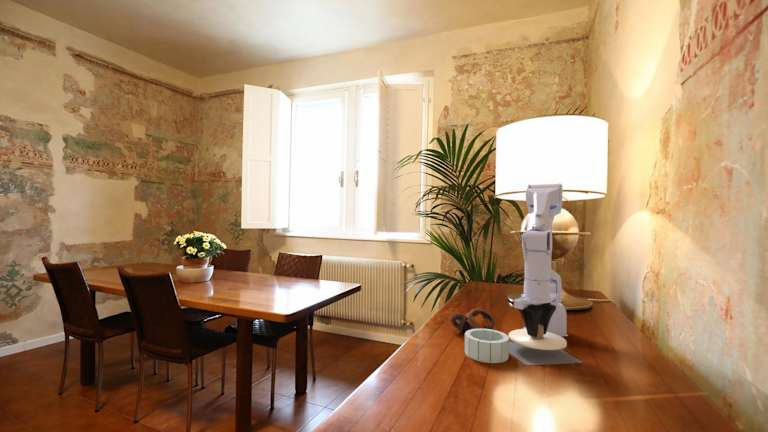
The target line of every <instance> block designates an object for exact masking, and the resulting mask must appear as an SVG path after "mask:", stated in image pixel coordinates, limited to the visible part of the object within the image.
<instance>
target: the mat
mask: <svg viewBox="0 0 768 432" xmlns="http://www.w3.org/2000/svg"><path fill="white" fill-rule="evenodd" d="M509 354H510V355H512V356H513V357H514V358H516V360H518V361H519V362H521V363H522V364H523V365H524V366H540V365H541V366H543V365H565V364H583V363H584V362H583V361H581V360H580V359H578V358H576V357H575V356H573V355H571V354H570V353H568V352H566V351H564V350H563V349H559V350H540V349H533V348H529V347H525V346H522V345H519V344H516V343H514V342H513V341H509Z"/></svg>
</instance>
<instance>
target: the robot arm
mask: <svg viewBox="0 0 768 432" xmlns="http://www.w3.org/2000/svg"><path fill="white" fill-rule="evenodd" d="M525 202H526V205H527V206H526V207H527V210H528V213H529V215H528V220H527V225H526V231H525V232H523V234H522V238H521V245H522V246H521V247H522V253H523V255H522V256H523V260H524V282H523V293H522V294H520V297H519V298H516V299H514V300H513V301H514V303H513V305H514V306H513V308H515V309H517V310H518V311H519V313H520V315H521V318H522V319H523V322H524V325H525V327H522V329H527V333H528V335H530V336H533V337H537V334H538V324H541V325H543V326H544V335H545V334H546V332H550V333H553V334H556V335H559V336H561V337H568V336H569V334H567V329H568V328H567V326H568V325H567V319H568V318H567V310H566V308H565V306H564V305H563V304H562V303H561V302H562V295H563V293H562V292H563V291H562V289H563V287H562V286H563V285H562V277H561V275H560V274H559V273H558V272H556V271H555V270H553V268H552V251H553V222H554V219H555V216H557V215H559V214H561V213H562V210H563V184H561V183H560V182H559V183H550V184H549V183H548V184H547V183H546V184H545V183H544V184H528V185H527V186H526V188H525Z"/></svg>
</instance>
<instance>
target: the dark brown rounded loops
mask: <svg viewBox="0 0 768 432" xmlns="http://www.w3.org/2000/svg"><path fill="white" fill-rule="evenodd" d="M479 315H481V316H482V319H485V320H489V322H490V324H489V325H485V324H484V325H483V329H491V330H495V321H496V320H495V319H494V318H493V316H492V315H491V314H490V313H489V312H487V311H485V310H483V309H479V308H473V309H471V310H470V311H469V312H467V313H466V314H464V315H463V314H462V313H454V314H453V315H452V316H451V318H450V322H451V324H452V326H453V327H454V328H455V329H457V330H458V332H459V333H462V332H463V330H467V329H482V328H481V327H480V326H481V324H480V322H478V321H477V320H476V319H475V317H477V316H479ZM457 321H459V322H457Z"/></svg>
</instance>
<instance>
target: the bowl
mask: <svg viewBox="0 0 768 432" xmlns="http://www.w3.org/2000/svg"><path fill="white" fill-rule="evenodd" d="M509 342H510V339H509V334H506V333H505V332H503V331H499V330H496V329H494V330H491V329H483V328H482V329H474V328H470V329H468V330H467V329H466V331H465V333H464V354H465V355H466V356H467V357H468V358H469V359H471V360H473V361H474V360H475V361H476V362H480V363H487V364H500V363H505V362H507V361H508V359H509V356H510V355H509V354H510V353H509Z"/></svg>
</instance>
